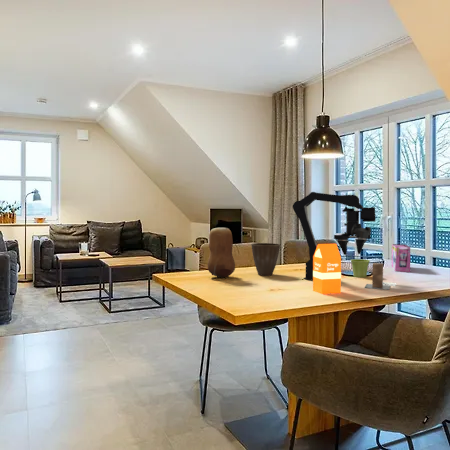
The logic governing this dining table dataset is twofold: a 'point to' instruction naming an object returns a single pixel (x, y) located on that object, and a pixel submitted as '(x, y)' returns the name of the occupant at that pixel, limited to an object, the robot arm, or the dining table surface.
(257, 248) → the plant pot
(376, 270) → the block
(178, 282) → the dining table surface
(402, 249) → the gum box
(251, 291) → the dining table surface
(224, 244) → the butternut squash
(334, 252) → the orange juice
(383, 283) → the tile
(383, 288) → the coaster
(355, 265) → the plant pot
